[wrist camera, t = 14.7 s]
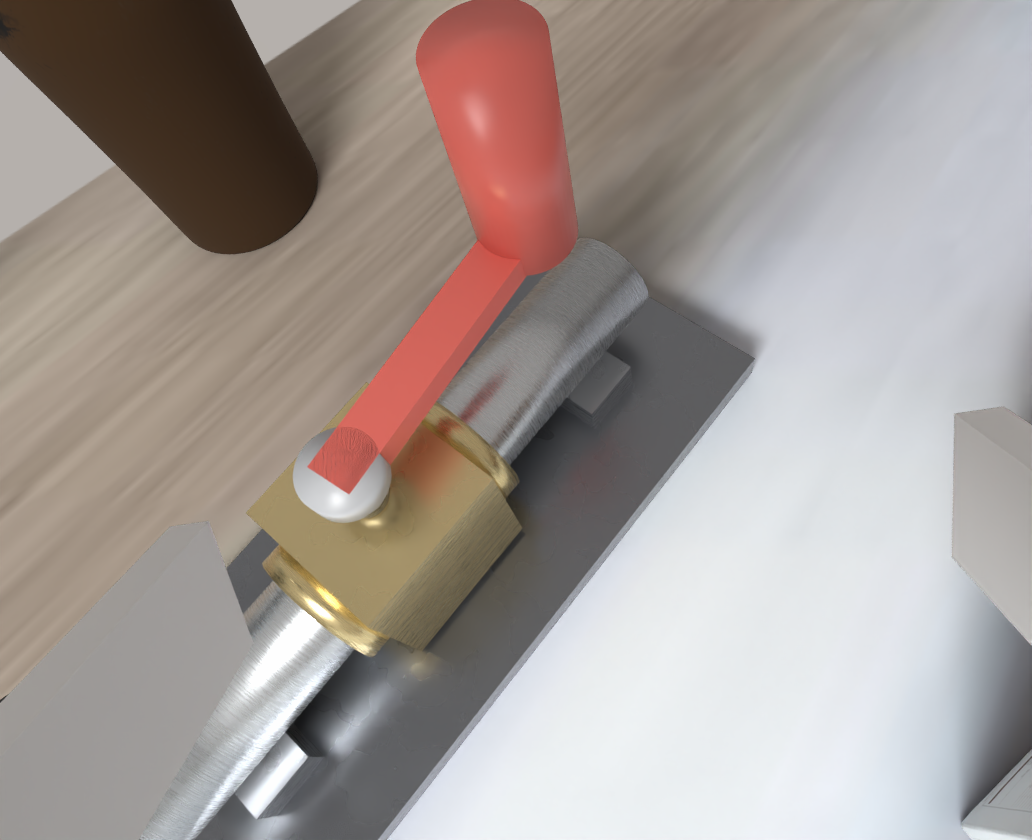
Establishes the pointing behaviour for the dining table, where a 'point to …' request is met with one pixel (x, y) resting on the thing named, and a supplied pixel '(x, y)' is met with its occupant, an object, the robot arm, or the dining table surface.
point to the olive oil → (172, 109)
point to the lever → (497, 224)
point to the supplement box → (1005, 808)
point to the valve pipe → (446, 560)
